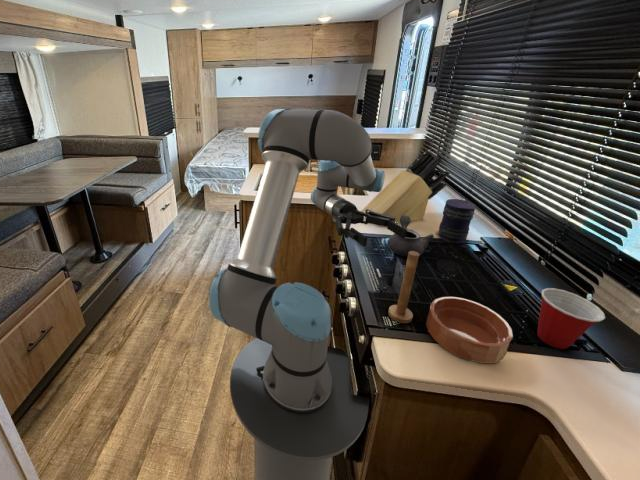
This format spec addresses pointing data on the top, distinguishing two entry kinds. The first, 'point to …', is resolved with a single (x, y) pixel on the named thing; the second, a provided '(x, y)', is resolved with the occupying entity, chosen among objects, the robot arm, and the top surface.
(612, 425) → the top surface
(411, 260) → the wooden pestle
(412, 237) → the teapot
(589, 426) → the top surface
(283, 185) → the robot arm
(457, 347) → the bowl
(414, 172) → the knife block
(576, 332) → the plastic cup
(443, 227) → the storage jar
